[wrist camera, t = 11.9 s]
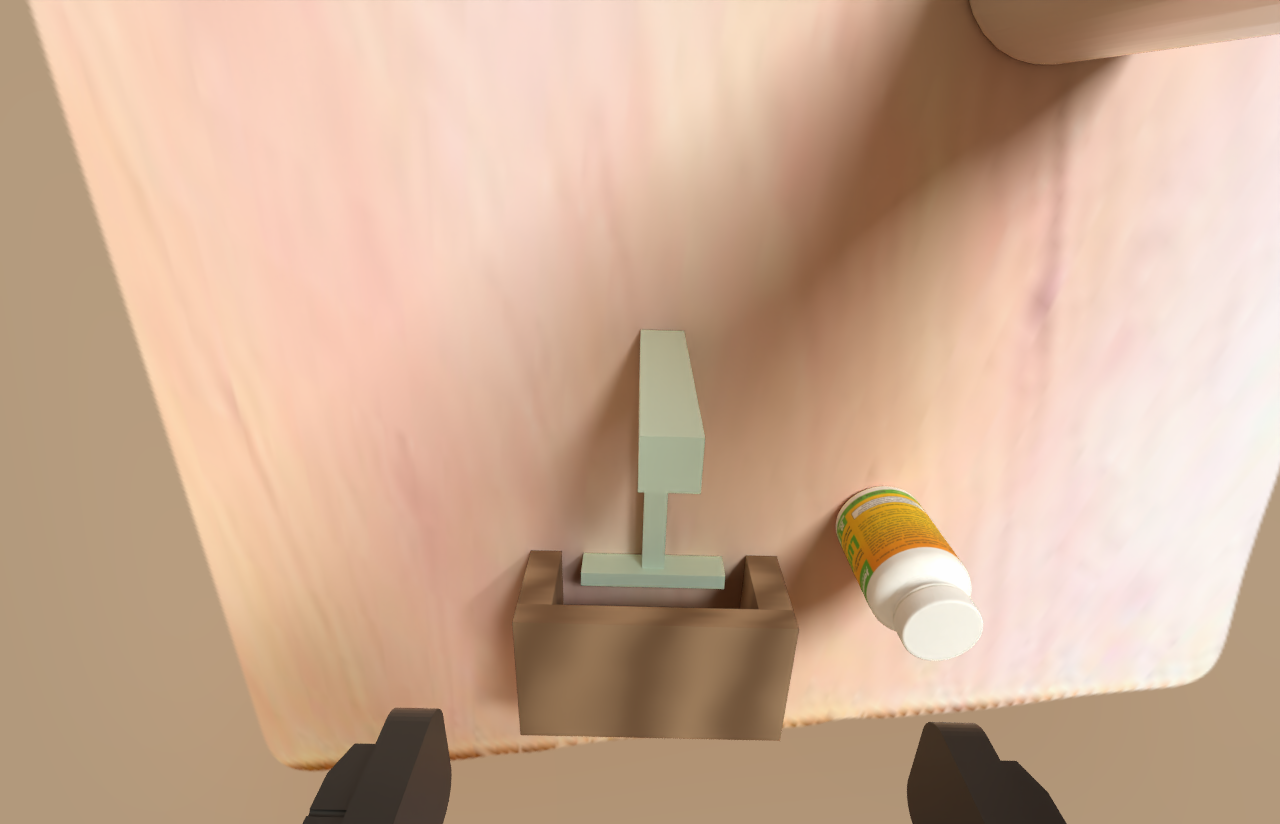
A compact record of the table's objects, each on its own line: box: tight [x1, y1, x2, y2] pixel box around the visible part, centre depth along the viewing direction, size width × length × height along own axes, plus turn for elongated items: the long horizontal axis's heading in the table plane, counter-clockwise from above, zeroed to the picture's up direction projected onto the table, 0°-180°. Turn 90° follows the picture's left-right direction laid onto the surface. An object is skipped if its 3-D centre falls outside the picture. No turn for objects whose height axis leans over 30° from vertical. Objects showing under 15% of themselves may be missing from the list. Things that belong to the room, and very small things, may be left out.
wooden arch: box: [512, 551, 799, 741], centre depth 40 cm, size 16×9×6 cm, turn 88°
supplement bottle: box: [836, 486, 983, 661], centre depth 36 cm, size 5×5×10 cm
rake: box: [581, 330, 725, 589], centre depth 32 cm, size 9×16×13 cm, turn 178°
